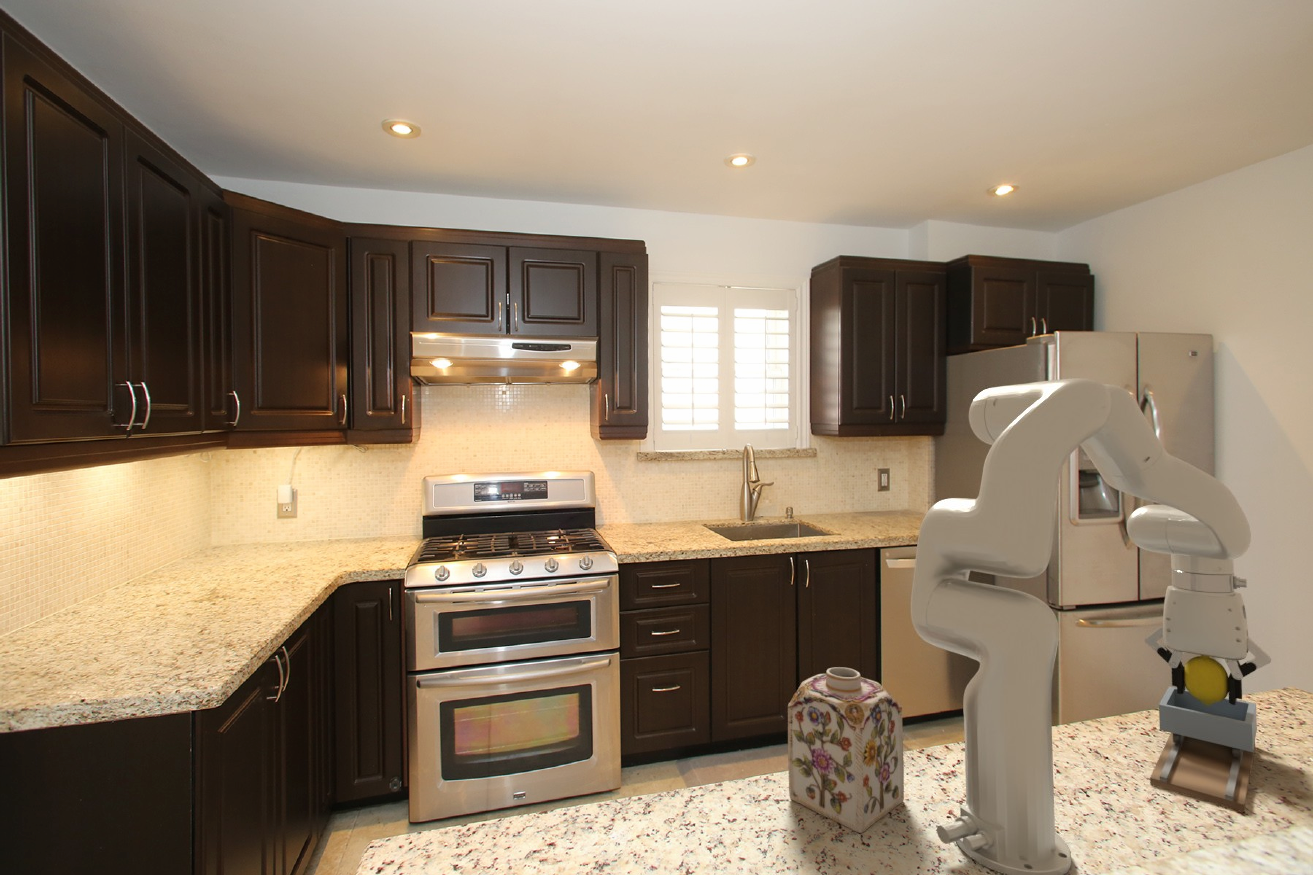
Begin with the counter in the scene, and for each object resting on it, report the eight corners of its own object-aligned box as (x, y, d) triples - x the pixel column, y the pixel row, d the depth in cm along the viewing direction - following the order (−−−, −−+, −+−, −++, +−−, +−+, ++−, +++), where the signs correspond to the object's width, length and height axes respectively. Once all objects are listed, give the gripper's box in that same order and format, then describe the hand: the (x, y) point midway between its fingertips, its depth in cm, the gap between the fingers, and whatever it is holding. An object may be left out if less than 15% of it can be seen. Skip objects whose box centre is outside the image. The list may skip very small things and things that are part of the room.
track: (1244, 811, 84) (1243, 781, 84) (1150, 784, 91) (1149, 756, 92) (1255, 746, 102) (1254, 721, 103) (1175, 727, 110) (1175, 704, 110)
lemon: (1175, 698, 103) (1173, 648, 103) (1212, 698, 102) (1210, 649, 103) (1201, 712, 98) (1199, 659, 98) (1240, 713, 97) (1238, 660, 97)
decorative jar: (786, 799, 89) (783, 671, 90) (833, 771, 97) (830, 652, 97) (863, 837, 80) (860, 694, 81) (908, 802, 88) (904, 672, 88)
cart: (1253, 765, 93) (1251, 724, 93) (1160, 742, 100) (1158, 704, 101) (1257, 741, 100) (1255, 703, 100) (1170, 721, 108) (1169, 686, 108)
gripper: (1278, 585, 97) (1283, 704, 97) (1139, 571, 109) (1143, 677, 109) (1277, 594, 92) (1282, 720, 91) (1131, 578, 104) (1134, 689, 104)
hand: (1206, 695), depth 100 cm, fingers closed on lemon, 5 cm apart
